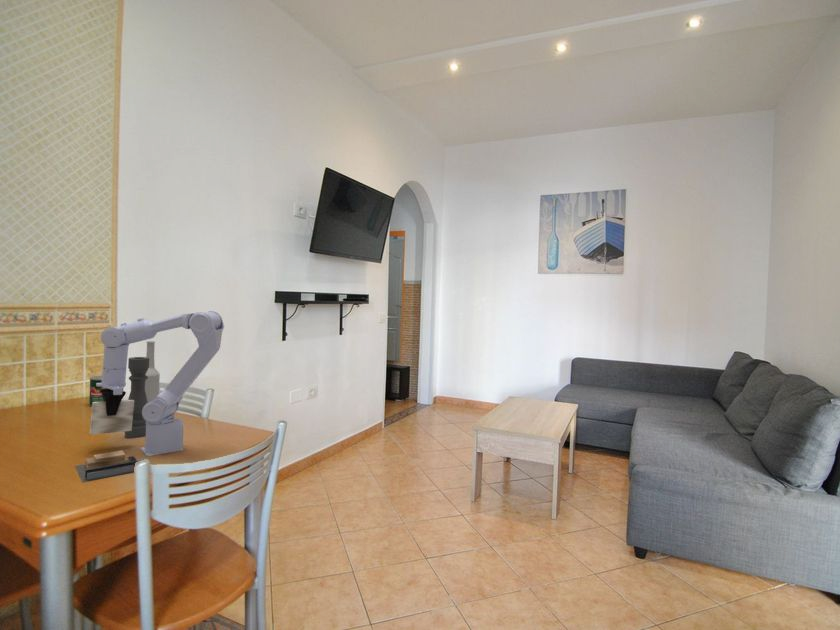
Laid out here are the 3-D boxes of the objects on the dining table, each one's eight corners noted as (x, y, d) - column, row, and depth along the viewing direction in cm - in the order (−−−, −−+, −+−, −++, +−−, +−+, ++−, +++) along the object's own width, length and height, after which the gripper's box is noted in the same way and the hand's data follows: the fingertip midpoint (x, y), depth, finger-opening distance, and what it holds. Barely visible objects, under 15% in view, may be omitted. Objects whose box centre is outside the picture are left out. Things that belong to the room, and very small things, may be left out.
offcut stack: (125, 458, 124) (125, 449, 124) (128, 462, 121) (129, 454, 121) (84, 464, 118) (85, 455, 118) (87, 470, 115) (87, 461, 115)
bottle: (133, 418, 163) (135, 341, 162) (149, 414, 169) (152, 340, 169) (146, 420, 161) (149, 342, 160) (162, 416, 167) (165, 341, 167)
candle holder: (136, 439, 141) (139, 360, 140) (119, 437, 142) (122, 358, 141) (152, 434, 147) (155, 357, 146) (135, 431, 148) (138, 356, 148)
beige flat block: (130, 429, 135) (133, 399, 135) (131, 430, 134) (134, 400, 134) (89, 433, 128) (92, 402, 128) (90, 434, 127) (93, 403, 127)
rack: (133, 457, 126) (133, 450, 126) (144, 472, 117) (145, 464, 117) (75, 467, 117) (75, 459, 117) (82, 484, 108) (82, 475, 108)
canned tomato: (112, 402, 184) (113, 375, 184) (114, 406, 178) (115, 378, 178) (88, 404, 179) (89, 376, 179) (89, 408, 173) (90, 379, 173)
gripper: (93, 364, 133) (89, 409, 133) (102, 372, 122) (98, 422, 123) (121, 363, 138) (118, 407, 138) (132, 372, 127) (128, 419, 128)
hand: (110, 414), depth 131 cm, fingers closed on beige flat block, 1 cm apart
